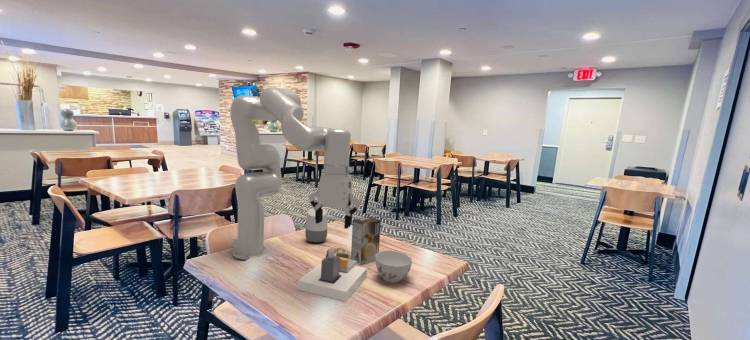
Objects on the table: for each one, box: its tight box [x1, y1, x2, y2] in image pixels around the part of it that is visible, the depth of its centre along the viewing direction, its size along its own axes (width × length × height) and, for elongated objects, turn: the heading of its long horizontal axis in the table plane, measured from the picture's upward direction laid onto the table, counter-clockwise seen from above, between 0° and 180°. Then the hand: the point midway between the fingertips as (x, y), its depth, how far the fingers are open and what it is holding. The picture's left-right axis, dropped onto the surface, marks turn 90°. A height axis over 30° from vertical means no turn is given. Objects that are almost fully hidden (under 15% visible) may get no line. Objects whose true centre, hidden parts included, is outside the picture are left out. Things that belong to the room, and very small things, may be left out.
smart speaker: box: [304, 207, 328, 244], centre depth 143 cm, size 10×9×14 cm
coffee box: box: [350, 216, 382, 266], centre depth 125 cm, size 9×6×16 cm
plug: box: [321, 251, 340, 284], centre depth 103 cm, size 4×5×11 cm
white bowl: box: [374, 250, 413, 284], centre depth 112 cm, size 15×12×8 cm
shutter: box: [336, 256, 358, 272], centre depth 112 cm, size 7×8×4 cm
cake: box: [324, 247, 351, 260], centre depth 124 cm, size 10×10×5 cm
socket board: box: [297, 261, 368, 302], centre depth 106 cm, size 16×18×3 cm
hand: (332, 224), depth 101 cm, fingers open, 9 cm apart
